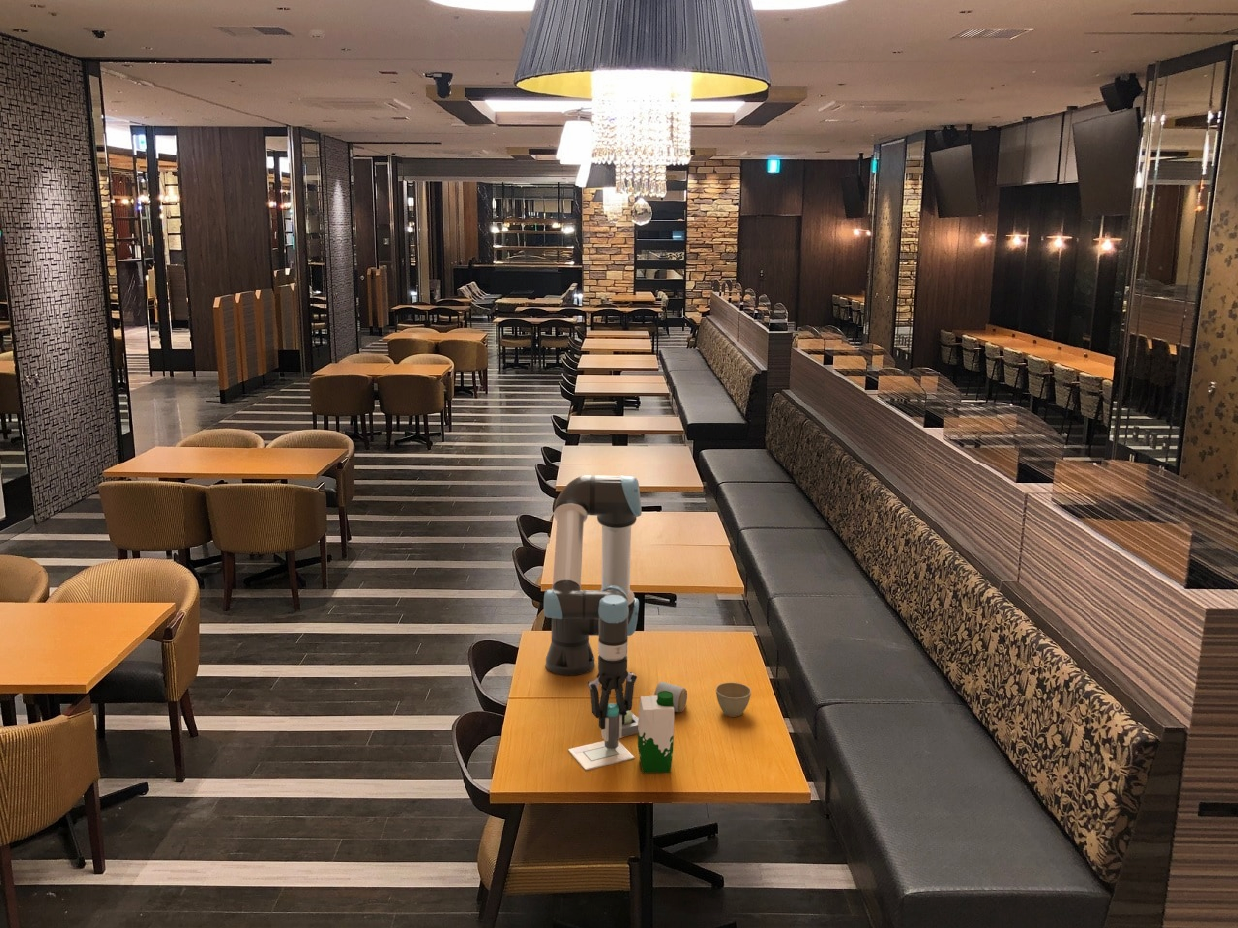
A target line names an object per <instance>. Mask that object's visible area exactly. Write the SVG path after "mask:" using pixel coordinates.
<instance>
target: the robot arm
mask: <svg viewBox="0 0 1238 928" xmlns="http://www.w3.org/2000/svg"><path fill="white" fill-rule="evenodd" d="M641 501H642V499H641V491H640V483H639V481H638V478H637V477H635V476H630V475H629V476H627V475H623V474H622V475H591V474H586V475H581V476H578V477H576V478H574V479H573V480H571V481H570V482H568V483H567V485H565V486H564V487H563V488H562V490H561V492H560V493H559V494H558V497H557V498H556V500H555V504H554V508H553V509H554V510H553V517H554V519H555V521H556V534H555V545H554V546H555V547H554V550H555V551H554V564H553V577H552V578H553V579H552V588H550V589H546V590H545V591H544V595H543V615H544V616H545V618H549V619H550V618H551V642H550V646H549V648H548V651H547V655H546V658H545V668H546V669H547V670H548V671H549V672H551V673H554V674H556V675H560V676H561V675H562V676H578V675H579V676H580V675H583V674H586V673H589V672H591V671H592V670H593V669H594V667H595V657H594V653H593V649H592V647H591V643H590V636H592V637H593V636H597V637H598V643H597V644H598V645H597V646H598V648H597V649H598V650H597V652H598V653H597V654H598V657H597V671H598V673H597V675H596V678H595V679H594V680H593V681H591V680H589V681H587V686H588V688H589V694H590V705H591V714H592V715H593V716H594V717H595V718H596V719H598V727H599V728H600V730H601V735H600V736H601V738H602V739H603V741H608V739H609V718H607V717H606V715H607V709H608V704H609V702H610V701H609V700H610V696H611V694H612V691H613V690H614V693H615V694H614V695H615V702H616V703H615V704H617V705H619V726H618V739H622V737H621V735H622V725H623V724H624V721H625V715H626V714H627V712H626V711H631V710H632V709H633V699H634V689H635V683H636V681H637V678H638V677H637V675H636V674H635V673H634V672H632V671H630V672H628V644H629V643H628V638H629V637H631V636H633V634H635V632H636V630H637V624H638V619H639V618H638V617H639V610H640V609H639V608H640V601H639V599H638V598H636V597H635V593H634V592H633V590H631V588H630V587H631V586H630V585H631V553H632V552H631V551H632V549H631V547H632V545H631V544H632V526H634V525H635V523H636V522H637V519H638V517H640V516H642V514H643V513H642V511H643V510H642V502H641ZM589 516H594V517H595V516H597V517H596V521H597V523H598V524H600V525H601V528H602V529H601V588H600V589H599V590H595V589H594V590H590V589H588V590H586V589H581V588H582V585H581V584H582V566H583V547H584V546H583V544H584V526H585V525H584V524H585V523H586V521H587V519H588V517H589ZM624 682H625V685H623V684H624ZM599 684H600V685H601V687H600V686H599ZM624 686H625V687H624ZM599 687H600V695H599Z"/></svg>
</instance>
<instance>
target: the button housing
mask: <svg viewBox="0 0 1238 928" xmlns="http://www.w3.org/2000/svg"><path fill="white" fill-rule="evenodd" d="M638 717H639V716H637V715H635V714H634V713H633V712H632V723H631V724H627V725H623V726H622V735H621V738H623V737H628V736H631V735H636V734H638Z"/></svg>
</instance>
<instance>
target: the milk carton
mask: <svg viewBox="0 0 1238 928" xmlns="http://www.w3.org/2000/svg"><path fill="white" fill-rule="evenodd" d="M638 706H639V707H638V716H637V717H638V733H637V750H638V755H639V759H640V760H639V761H640V765H641V770H642V774H665V773H666V774H670V773H672V772H671V771H672V765H673V764H672V763H673V755H674V743H675V741H674V740H675V739H674V737H675V712H674V701H673V694H672V693H671V692H668V691H662V692H659V693H658V695H657V696H655V695H653V694H651V695H647V696H646V695H644V696H643V695H641V696H640V697H639V705H638Z"/></svg>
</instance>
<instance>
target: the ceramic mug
mask: <svg viewBox="0 0 1238 928" xmlns="http://www.w3.org/2000/svg"><path fill="white" fill-rule="evenodd" d="M662 691H668V692H671V693H672V694H673V701H674V713H681V712H683V710H684V709H685V707H686V703H687V699H688V691H687V690H686V688H685V687H682V686H679V685H675V684H673V683H668V682H667V681H666V682H665V681H659V682H658V684H657V685H656V687H655V691H654V695H655V696H657V695H658V693H659V692H662Z"/></svg>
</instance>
